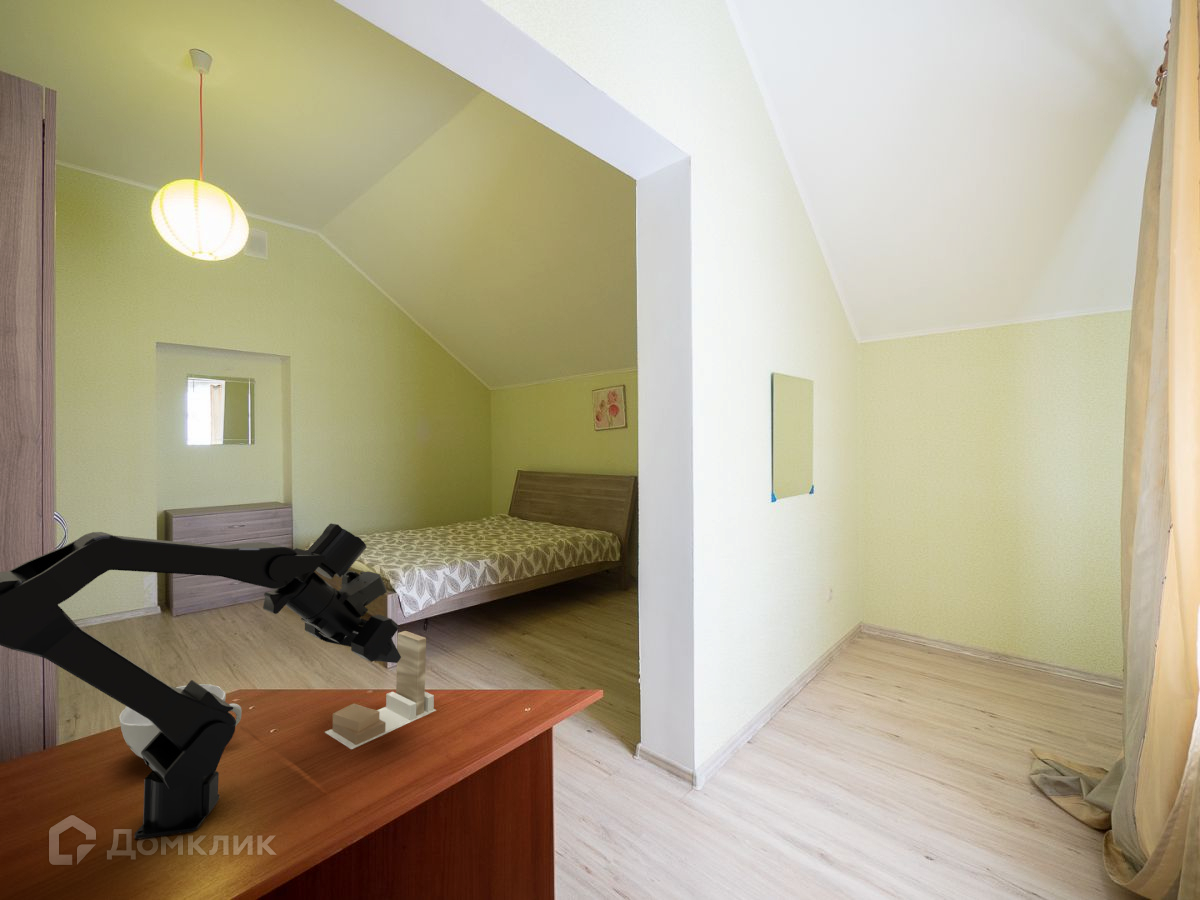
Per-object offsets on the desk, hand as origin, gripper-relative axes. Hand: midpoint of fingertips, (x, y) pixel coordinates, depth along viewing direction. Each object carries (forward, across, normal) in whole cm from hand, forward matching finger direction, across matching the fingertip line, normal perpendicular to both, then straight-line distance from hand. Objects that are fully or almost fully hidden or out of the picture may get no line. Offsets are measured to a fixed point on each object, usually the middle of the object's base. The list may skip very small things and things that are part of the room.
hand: (382, 653), depth 89 cm
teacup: (-7, +16, +25) cm, 31 cm away
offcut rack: (+9, 0, +9) cm, 12 cm away
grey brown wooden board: (+12, 0, +4) cm, 13 cm away
